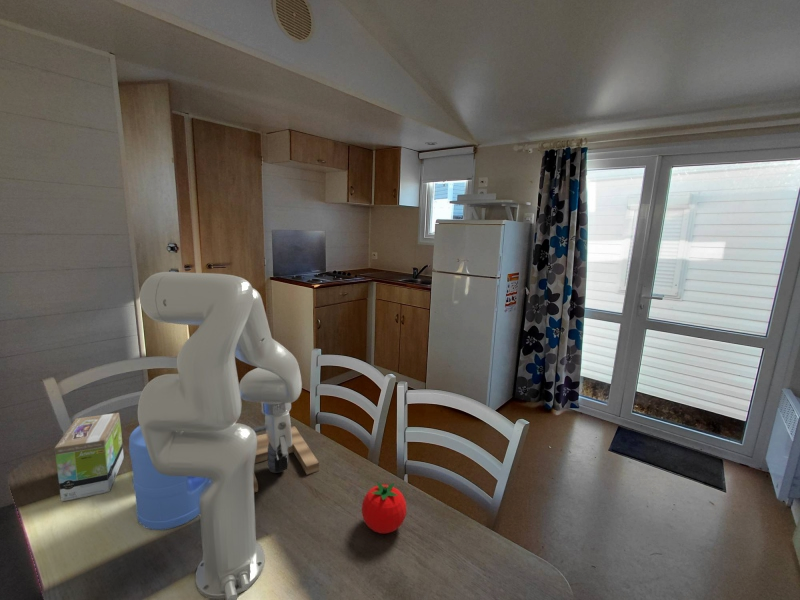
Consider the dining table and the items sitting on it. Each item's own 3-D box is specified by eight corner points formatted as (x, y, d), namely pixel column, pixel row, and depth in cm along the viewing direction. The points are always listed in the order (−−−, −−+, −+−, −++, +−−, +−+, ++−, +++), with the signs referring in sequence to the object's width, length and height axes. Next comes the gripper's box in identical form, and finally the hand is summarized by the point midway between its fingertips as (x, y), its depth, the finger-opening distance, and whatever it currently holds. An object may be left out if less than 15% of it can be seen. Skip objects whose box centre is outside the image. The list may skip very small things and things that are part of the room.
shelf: (318, 470, 105) (318, 462, 104) (243, 496, 94) (243, 487, 93) (294, 432, 123) (294, 425, 122) (229, 450, 112) (229, 443, 111)
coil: (291, 469, 102) (290, 446, 101) (271, 475, 99) (270, 452, 98) (285, 458, 107) (284, 436, 105) (266, 464, 104) (265, 442, 102)
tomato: (376, 502, 94) (377, 468, 91) (413, 519, 89) (415, 482, 87) (352, 532, 84) (353, 494, 82) (392, 552, 80) (394, 512, 78)
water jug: (136, 543, 79) (122, 424, 73) (138, 497, 92) (126, 393, 86) (216, 514, 88) (209, 406, 82) (208, 476, 100) (201, 380, 95)
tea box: (111, 492, 93) (104, 439, 90) (60, 503, 89) (51, 448, 86) (125, 457, 107) (119, 410, 104) (81, 466, 102) (73, 417, 99)
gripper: (300, 415, 94) (301, 477, 98) (281, 388, 108) (283, 444, 112) (270, 422, 90) (272, 487, 94) (254, 394, 104) (257, 451, 108)
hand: (278, 463), depth 103 cm, fingers closed on coil, 5 cm apart
